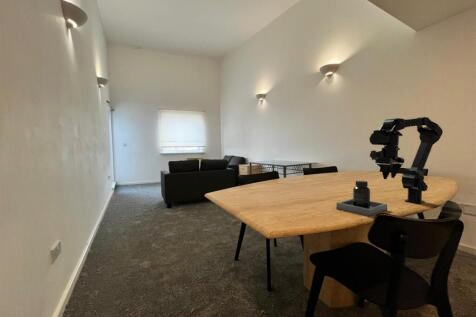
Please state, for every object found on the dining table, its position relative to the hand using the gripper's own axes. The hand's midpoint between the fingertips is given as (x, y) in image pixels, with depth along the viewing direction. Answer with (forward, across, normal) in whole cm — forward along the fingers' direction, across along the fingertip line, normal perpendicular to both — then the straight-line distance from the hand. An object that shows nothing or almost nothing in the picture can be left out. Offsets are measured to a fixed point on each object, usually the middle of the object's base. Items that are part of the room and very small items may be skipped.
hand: (389, 178), depth 116 cm
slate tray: (+14, +16, -5) cm, 22 cm away
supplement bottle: (+13, +16, -5) cm, 21 cm away
